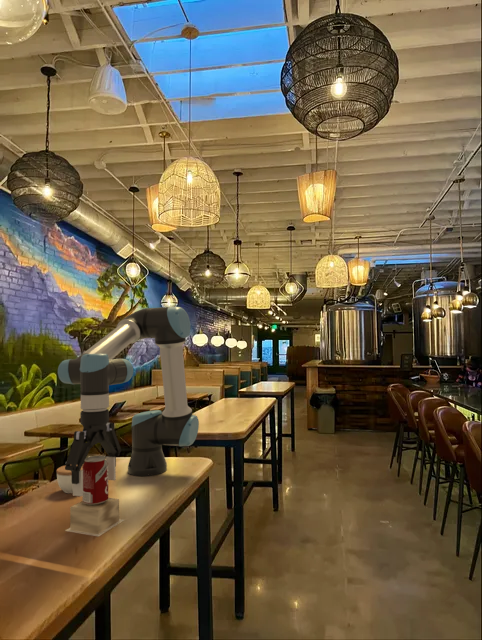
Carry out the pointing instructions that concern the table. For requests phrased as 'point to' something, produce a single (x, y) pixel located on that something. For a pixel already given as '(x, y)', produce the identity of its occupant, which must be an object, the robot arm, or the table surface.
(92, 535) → the grey square plate
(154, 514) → the table surface
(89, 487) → the soda can
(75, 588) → the table surface
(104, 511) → the beech block
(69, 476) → the lidded jar
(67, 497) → the table surface
